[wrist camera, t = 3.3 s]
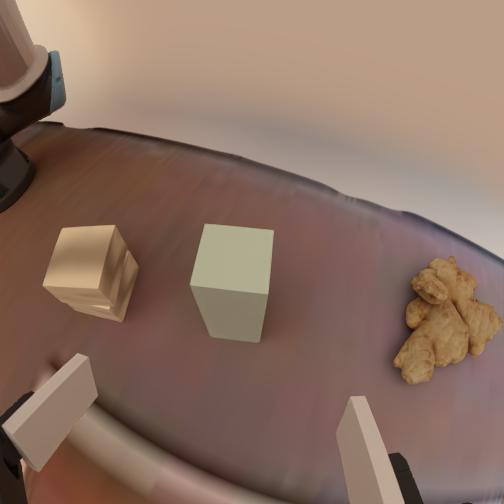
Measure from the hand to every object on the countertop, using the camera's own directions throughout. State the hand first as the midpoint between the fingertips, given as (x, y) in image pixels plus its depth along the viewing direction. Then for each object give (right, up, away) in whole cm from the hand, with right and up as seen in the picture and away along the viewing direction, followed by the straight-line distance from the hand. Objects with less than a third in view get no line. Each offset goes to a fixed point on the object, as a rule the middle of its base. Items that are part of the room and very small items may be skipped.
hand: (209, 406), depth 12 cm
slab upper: (-15, +5, +15) cm, 22 cm away
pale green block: (+1, 0, +17) cm, 17 cm away
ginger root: (+24, -1, +17) cm, 30 cm away
